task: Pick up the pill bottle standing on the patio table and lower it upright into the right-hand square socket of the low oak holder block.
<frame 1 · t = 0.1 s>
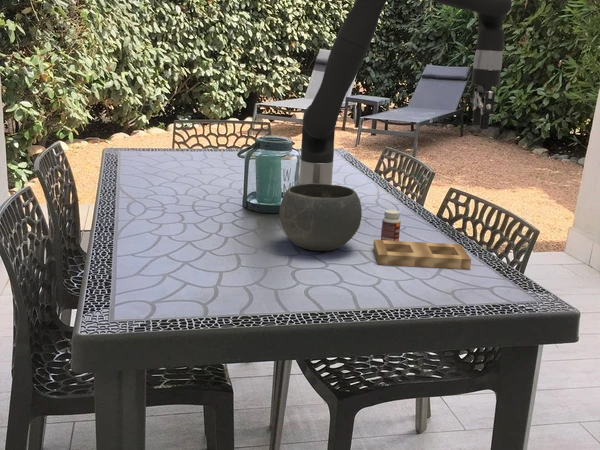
hand: (479, 126, 194), 29 cm above the table, fingers open, 8 cm apart
holder block: (419, 258, 171), on the table
pill bottle: (389, 242, 183), on the table
bowl: (318, 248, 175), on the table
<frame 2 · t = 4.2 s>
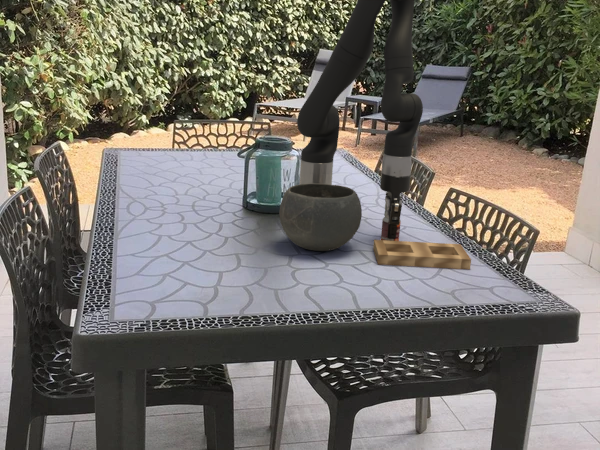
hand: (390, 235, 183), 2 cm above the table, fingers closed on pill bottle, 4 cm apart
pill bottle: (389, 242, 183), on the table, touching gripper
everything else where it was.
when the fingers open (3 cm above the table, at t = 9.3 s): pill bottle drops 1 cm, resting in holder block.
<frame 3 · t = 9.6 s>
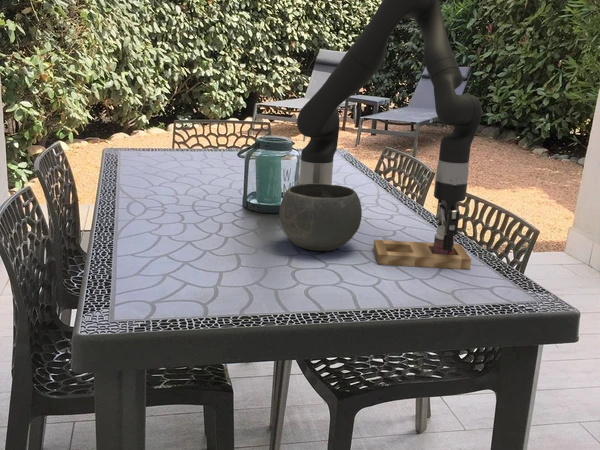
hand: (444, 244, 170), 4 cm above the table, fingers open, 7 cm apart
pill bottle: (441, 260, 171), resting in holder block
everything else where it was.
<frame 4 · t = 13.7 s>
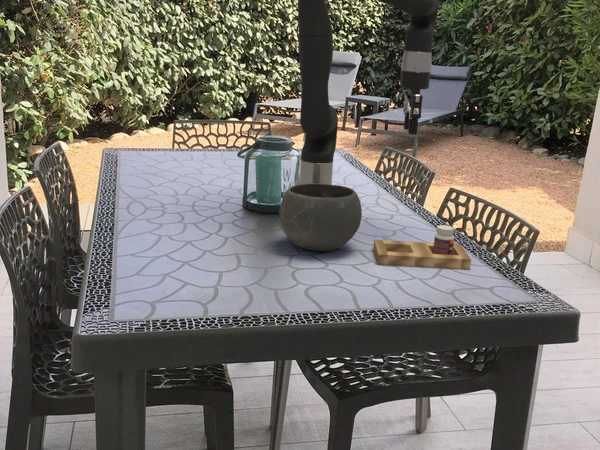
hand: (410, 131, 184), 28 cm above the table, fingers open, 8 cm apart
nothing on the table moved.
at the end: pill bottle 0.1 cm from the target spot on the holder block, point 0.0 cm above the holder block's base; pill bottle tilted 0°; the gripper is holding nothing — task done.
